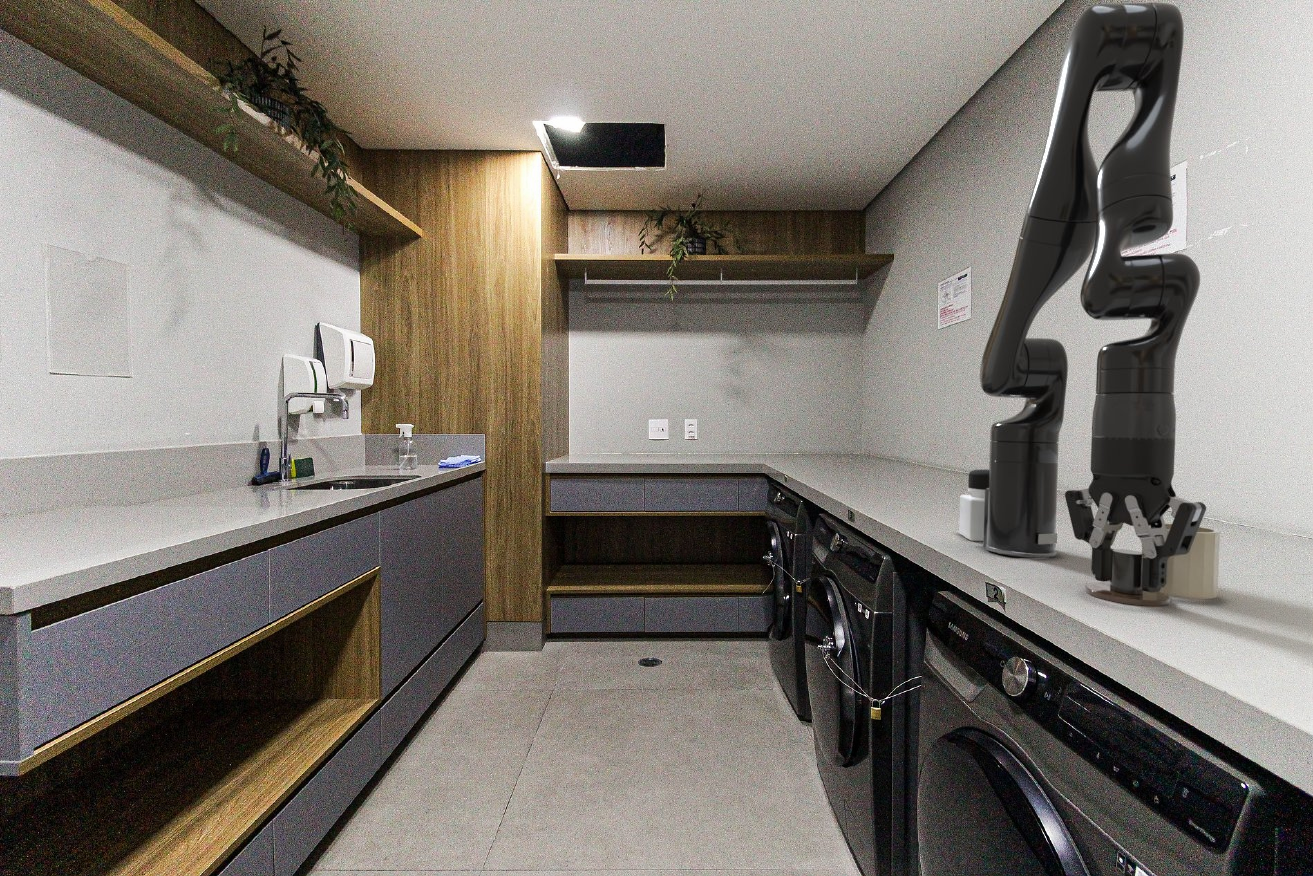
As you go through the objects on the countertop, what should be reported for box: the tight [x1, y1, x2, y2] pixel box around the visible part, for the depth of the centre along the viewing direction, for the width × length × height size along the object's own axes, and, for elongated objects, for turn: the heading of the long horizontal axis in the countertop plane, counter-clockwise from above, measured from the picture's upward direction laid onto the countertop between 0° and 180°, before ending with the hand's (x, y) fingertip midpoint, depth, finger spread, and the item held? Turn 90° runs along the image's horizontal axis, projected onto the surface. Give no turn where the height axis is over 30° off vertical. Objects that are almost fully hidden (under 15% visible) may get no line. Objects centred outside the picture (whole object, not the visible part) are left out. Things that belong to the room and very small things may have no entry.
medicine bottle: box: [958, 468, 989, 542], centre depth 111 cm, size 7×7×12 cm
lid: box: [1085, 548, 1170, 607], centre depth 72 cm, size 8×8×6 cm
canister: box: [1140, 522, 1221, 600], centre depth 75 cm, size 7×7×8 cm
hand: (1126, 584), depth 72 cm, fingers open, 4 cm apart
